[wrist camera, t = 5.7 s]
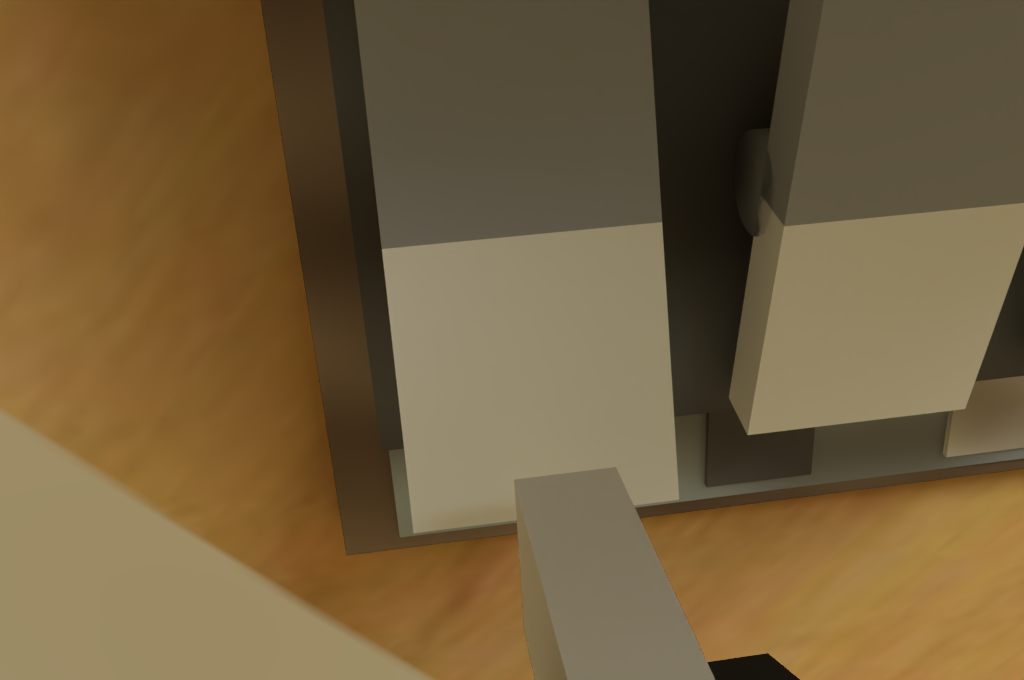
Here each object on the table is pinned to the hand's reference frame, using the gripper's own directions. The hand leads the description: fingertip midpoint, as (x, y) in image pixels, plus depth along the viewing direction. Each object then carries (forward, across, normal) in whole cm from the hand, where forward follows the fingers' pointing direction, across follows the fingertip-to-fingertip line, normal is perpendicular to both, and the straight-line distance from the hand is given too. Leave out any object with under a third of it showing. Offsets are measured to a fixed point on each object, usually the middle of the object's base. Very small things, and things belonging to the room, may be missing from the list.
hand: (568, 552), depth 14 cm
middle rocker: (+6, +7, +4) cm, 10 cm away
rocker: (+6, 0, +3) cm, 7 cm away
